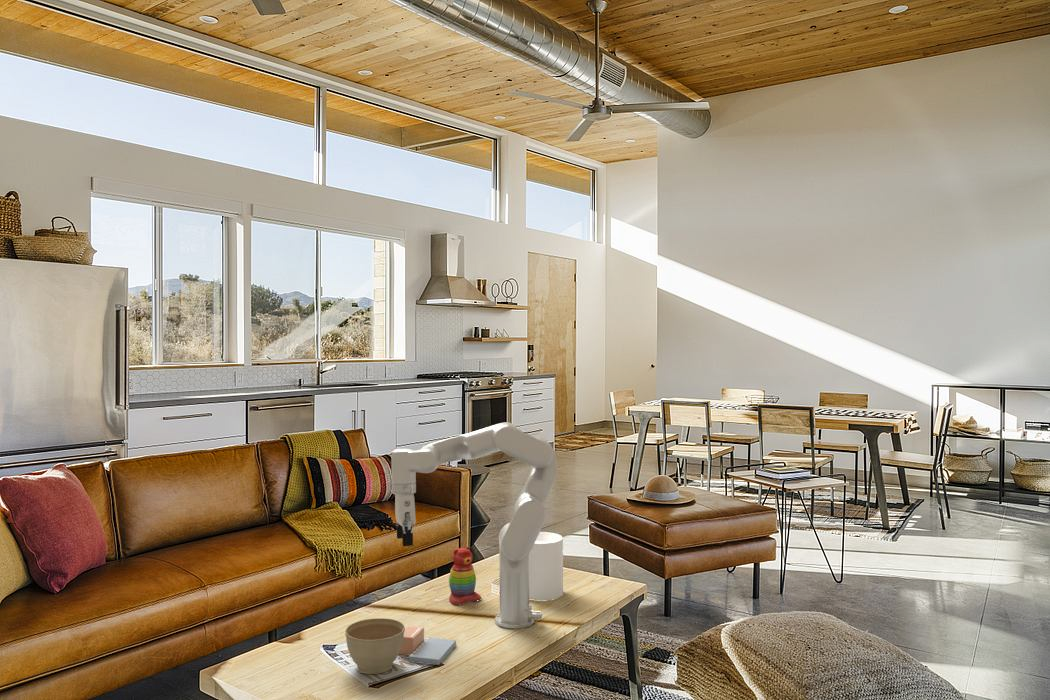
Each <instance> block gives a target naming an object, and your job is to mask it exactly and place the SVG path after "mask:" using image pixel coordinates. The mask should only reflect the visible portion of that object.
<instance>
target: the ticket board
mask: <svg viewBox="0 0 1050 700" xmlns="http://www.w3.org/2000/svg"><path fill="white" fill-rule="evenodd" d="M456 645H457V640H456V639H450V638H449V639H448V638H440V637H429V636H428V637H426V638H424V641H423V642H422V643H421V644H420V645H419V647H418V648H417V649H416V650H415V651H414V652H413V653H412V654H411V655H408V662H410V663H417V664H427V665H437V666H439V665H440V664H442V662H443V661H444V660H445V659H446V657H447V656H448V655H449V654H450V653H451V652H452V650H453V649H454V648H455V647H456Z"/></svg>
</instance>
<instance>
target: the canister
mask: <svg viewBox="0 0 1050 700" xmlns="http://www.w3.org/2000/svg"><path fill="white" fill-rule="evenodd" d="M563 550H564V538H563V536H562V535H561V534H558V533H555V532H550V531H549V532H548V531H540V533H539V535H538V537H537V539H536V541H535V543H534V545H533V547H532V549H531V551H530V553H529V599H534V600H551V601H553V600H552V599H555V600H557V599H556V598H558V597H560V596H562V597H563V595H564V552H563ZM560 598H561V597H560Z"/></svg>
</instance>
